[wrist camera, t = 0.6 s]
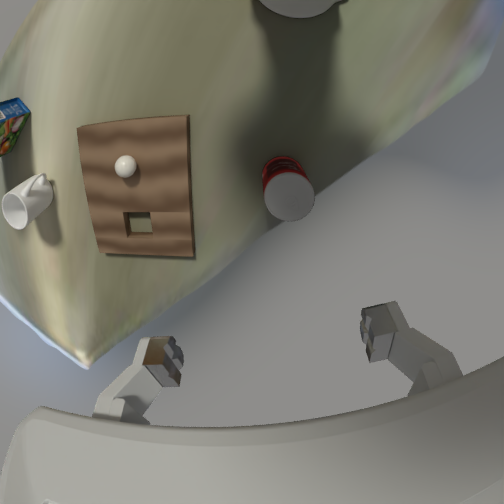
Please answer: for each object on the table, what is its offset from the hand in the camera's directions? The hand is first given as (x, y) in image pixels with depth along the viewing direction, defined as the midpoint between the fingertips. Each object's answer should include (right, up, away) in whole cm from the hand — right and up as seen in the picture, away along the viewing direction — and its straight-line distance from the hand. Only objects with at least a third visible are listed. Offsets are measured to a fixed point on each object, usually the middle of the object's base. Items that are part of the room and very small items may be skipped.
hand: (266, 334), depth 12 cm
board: (-23, +16, +41) cm, 49 cm away
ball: (-23, +18, +34) cm, 45 cm away
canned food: (+5, +17, +40) cm, 44 cm away
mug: (-48, +19, +39) cm, 65 cm away
